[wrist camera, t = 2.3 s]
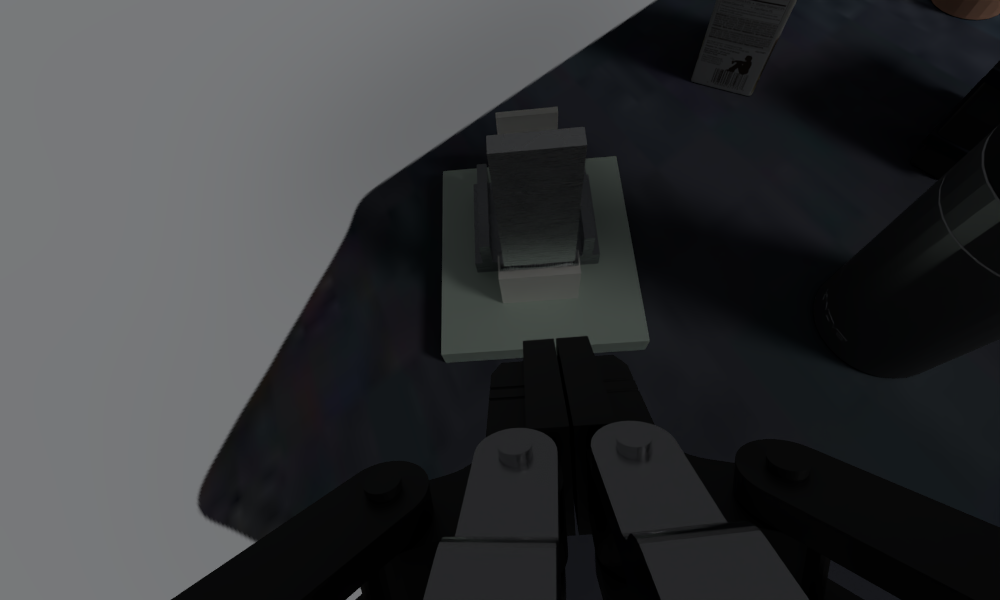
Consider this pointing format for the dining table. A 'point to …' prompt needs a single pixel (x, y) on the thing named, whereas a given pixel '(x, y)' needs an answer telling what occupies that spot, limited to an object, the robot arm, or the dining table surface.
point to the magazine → (962, 127)
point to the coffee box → (740, 43)
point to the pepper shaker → (969, 8)
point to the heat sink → (489, 233)
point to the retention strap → (537, 196)
